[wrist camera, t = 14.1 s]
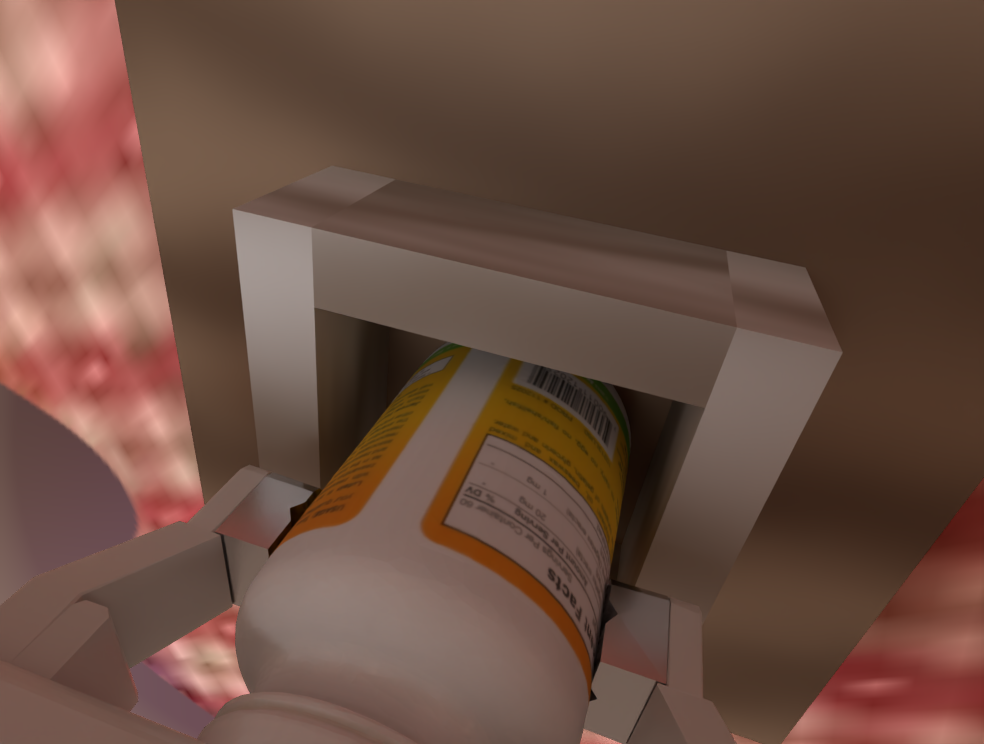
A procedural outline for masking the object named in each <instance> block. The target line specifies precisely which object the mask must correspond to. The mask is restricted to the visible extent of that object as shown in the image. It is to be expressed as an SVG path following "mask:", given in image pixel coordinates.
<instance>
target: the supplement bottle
mask: <svg viewBox="0 0 984 744" xmlns="http://www.w3.org/2000/svg"><path fill="white" fill-rule="evenodd" d="M630 448H631V432H630V425H629V420H628V416H627V413H626V410H625V407H624V405H623V403H622V400H621V398H620V396H619V395H618V393H617V391H616V390H615V388H614V386H613V385H612V384H609V383H605V382H602V381H598V380H594V379H590V378H586V377H582V376H578V375H575V374H571V373H567V372H563V371H559V370H555V369H551V368H547V367H544V366H540V365H536V364H532V363H528V362H524V361H520V360H517V359H513V358H509V357H505V356H501V355H497V354H493V353H489V352H486V351H482V350H478V349H474V348H470V347H466V346H462V345H459V344H455V343H451V342H447V343H445V344H444V345H442V346H441V347H439V348H438V349H437V350H436V351H434V352H433V353H432V354H431V355H430V356H429V357H428V358H427V359H426V360H425V361H424V363H423V364H422V365H421V366H420V367H419V368H418V370H417V371H416V372H415V373H414V374H413V376H412V377H411V378H410V379H409V381H408V382H407V383H406V385H405V386H404V387H403V388H402V390H401V391H400V392H399V394H398V395H397V396H396V397H395V399H394V400H393V401H392V403H391V404H390V406H389V407H388V408H387V409H386V411H385V412H384V413H383V414H382V415H381V417H380V418H379V419H378V421H377V422H376V423H375V424H374V426H373V427H372V428H371V430H370V431H369V432H368V433H367V435H366V436H365V437H364V438H363V440H362V441H361V442H360V444H359V445H358V446H357V447H356V449H355V450H354V451H353V452H352V454H351V455H350V456H349V457H348V458H347V460H346V461H345V462H344V463H343V465H342V466H341V467H340V469H339V470H338V471H337V472H336V473H335V474H334V476H333V477H332V479H331V480H330V481H329V483H328V484H327V485H326V486H325V488H324V489H323V490H322V491H321V493H320V494H319V495H318V496H317V498H316V499H315V500H314V501H313V502H312V504H311V505H310V506H309V507H308V508H307V510H306V511H305V513H304V514H303V515H302V516H301V518H300V519H299V520H298V521H297V523H296V524H295V525H294V526H293V528H292V529H291V530H290V531H289V533H288V534H287V535H286V536H285V538H284V539H283V540H282V541H281V543H280V544H279V545H278V547H277V548H276V549H275V550H274V552H273V553H272V554H271V556H270V557H269V558H268V560H267V561H266V563H265V564H264V566H263V567H262V568H261V570H260V571H259V573H258V574H257V575H256V577H255V578H254V580H253V581H252V583H251V584H250V586H249V588H248V589H247V592H246V594H245V596H244V598H243V600H242V603H241V606H240V609H239V613H238V617H237V621H236V633H235V646H236V654H237V659H238V664H239V668H240V671H241V674H242V677H243V679H244V682H245V684H246V686H247V688H248V690H249V692H250V694H246V695H241V696H239V697H236V698H234V699H232V700H230V701H229V702H227V703H226V704H225V705H224V706H223V707H222V708H221V709H220V710H219V711H218V713H217V715H216V717H215V719H214V720H213V721H211V722H210V723H209V724H208V725H207V726H205V727H204V729H203V730H202V732H201V733H200V734H199V736H198V738H197V739H198V740H200V741H203V742H205V743H208V744H580V741H581V737H582V733H583V728H584V722H585V718H586V714H587V710H588V707H589V700H590V694H591V686H592V679H593V674H594V666H595V659H596V653H597V646H598V641H599V635H600V629H601V622H602V615H603V608H604V602H605V596H606V590H607V585H608V581H609V575H610V569H611V563H612V558H613V552H614V546H615V540H616V534H617V529H618V523H619V517H620V511H621V505H622V500H623V495H624V489H625V483H626V477H627V471H628V465H629V456H630Z"/></svg>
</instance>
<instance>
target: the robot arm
mask: <svg viewBox="0 0 984 744" xmlns="http://www.w3.org/2000/svg"><path fill="white" fill-rule="evenodd" d="M321 491H322V489H320V488H317V487H314V486H311V485H308V484H306V483H303V482H300V481H297V480H294V479H291V478H288V477H285V476H282V475H279V474H277V473H274V472H270V471H267V470H264V469H261V468H258V467H255V466H252V465H248V466H246V467H244V468H241V469H240V470H239V471H238V472H237V473H236V474H235V475H234V476H233V477H232V478H231V479H230V480H229V481H228V482H227V483H226V484H225V485H224V486H223V487H222V488H221V489H220V490H219V491H218V492H217V493H216V494H215V495H214V496H213V497H212V498H211V499H210V500H209V501H208V502H207V503H206V504H205V505H204V506H203V507H202V508H201V509H200V510H199V511H198V512H197V513H196V514H195V515H194V516H193V517H192V518H191V519H190V520H189V521H188V522H187V523H184V522H181V521H179V522H176V523H173V524H171V525H168V526H166V527H163V528H160V529H158V530H155V531H153V532H150V533H147V534H145V535H142V536H139V537H137V538H134V539H132V540H129V541H126V542H124V543H121V544H119V545H116V546H113V547H111V548H108V549H106V550H103V551H100V552H98V553H95V554H93V555H90V556H87V557H85V558H82V559H80V560H77V561H74V562H72V563H69V564H66V565H64V566H61V567H59V568H56V569H53V570H51V571H48V572H46V573H43V574H40V575H38V576H35V577H33V578H32V579H31V580H30V581H28V582H27V583H26V584H25V585H24V586H23V587H21V588H20V589H19V590H18V591H17V592H16V593H15V594H13V595H12V596H11V597H10V598H9V599H8V600H6V601H5V602H4V603H3V604H2V605H1V606H0V744H208V743H205V742H203V741H200V740H198V739H195V738H193V737H191V736H188V735H186V734H183V733H181V732H178V731H176V730H173V729H171V728H168V727H166V726H163V725H161V724H158V723H156V722H153V721H151V720H148V719H146V718H144V717H141V716H139V715H136V714H134V713H131V712H130V711H131V710H132V708H133V707H134V706H135V705H136V703H137V702H138V692H137V689H136V686H135V683H134V680H133V678H132V675H131V672H130V668H132V667H133V666H135V665H136V664H138V663H140V662H141V661H143V660H145V659H146V658H148V657H150V656H151V655H153V654H155V653H156V652H158V651H160V650H161V649H163V648H165V647H166V646H168V645H170V644H171V643H173V642H175V641H176V640H178V639H180V638H181V637H183V636H185V635H186V634H188V633H190V632H191V631H193V630H195V629H196V628H198V627H200V626H201V625H203V624H205V623H206V622H208V621H209V620H211V619H213V618H214V617H216V616H218V615H219V614H221V613H223V612H224V611H226V610H228V609H229V608H231V607H232V604H235V605H238V606H241V603H242V600H243V598H244V596H245V594H246V592H247V589H248V588H249V586H250V584H251V583H252V581H253V580H254V578H255V577H256V575H257V574H258V573H259V571H260V570H261V568H262V567H263V566H264V564H265V563H266V561H267V560H268V558H269V557H270V556H271V554H272V553H273V552H274V550H275V549H276V548H277V547H278V545H279V544H280V543H281V541H282V540H283V539H284V538H285V536H286V535H287V534H288V533H289V531H290V530H291V529H292V528H293V526H294V525H295V524H296V523H297V521H298V520H299V519H300V518H301V516H302V515H303V514H304V513H305V511H306V510H307V508H308V507H309V506H310V505H311V504H312V502H313V501H314V500H315V499H316V498H317V496H318V495H319V494H320V493H321ZM584 729H586V730H589V731H591V732H594V733H597V734H599V735H602V736H604V737H607V738H609V739H612V740H615V741H617V742H620V743H622V744H737V743H736V742H735V740H734V738H733V736H732V735H731V733H730V731H729V729H728V728H727V726H726V724H725V723H724V721H723V719H722V717H721V716H720V714H719V712H718V710H717V709H716V707H715V705H714V704H713V702H712V701H709V700H707V699H704V698H703V665H702V612H701V610H700V607H699V606H697V605H693V604H690V603H687V602H684V601H681V600H677V599H674V598H671V597H667V596H666V595H663V594H659V593H656V592H653V591H649V590H646V589H643V588H639V587H636V586H633V585H629V584H626V583H623V582H619V581H616V580H613V579H610V581H609V583H608V585H607V590H606V596H605V602H604V608H603V615H602V622H601V629H600V635H599V641H598V646H597V653H596V659H595V666H594V674H593V679H592V686H591V694H590V700H589V707H588V710H587V714H586V718H585V722H584Z"/></svg>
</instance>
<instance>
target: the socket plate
mask: <svg viewBox="0 0 984 744" xmlns="http://www.w3.org/2000/svg"><path fill="white" fill-rule="evenodd" d="M115 5H116V10H117V16H118V22H119V27H120V33H121V38H122V44H123V50H124V55H125V61H126V66H127V72H128V78H129V83H130V89H131V94H132V100H133V106H134V111H135V117H136V122H137V128H138V134H139V139H140V145H141V151H142V156H143V162H144V167H145V173H146V179H147V184H148V190H149V195H150V201H151V207H152V212H153V218H154V223H155V229H156V235H157V240H158V246H159V251H160V257H161V263H162V268H163V274H164V279H165V285H166V291H167V296H168V302H169V307H170V313H171V319H172V324H173V330H174V335H175V341H176V347H177V352H178V358H179V363H180V369H181V375H182V380H183V386H184V391H185V397H186V403H187V408H188V414H189V420H190V425H191V431H192V436H193V442H194V448H195V453H196V459H197V464H198V470H199V476H200V481H201V487H202V492H203V498H204V504H206V503H207V502H208V501H209V500H210V499H211V498H212V497H213V496H214V495H215V494H216V493H217V492H218V491H219V490H220V489H221V488H222V487H223V486H224V485H225V484H226V483H227V482H228V481H229V480H230V479H231V478H232V477H233V476H234V475H235V474H236V473H237V472H238V471H239V470H240V469H241V468H244V467H246V466H248V465H252V466H255V467H258V468H261V469H264V470H267V471H270V472H274V473H277V474H279V475H282V476H285V477H288V478H291V479H294V480H297V481H300V482H303V483H306V484H308V485H311V486H314V487H317V488H320V489H322V490H323V489H324V488H325V486H326V485H327V484H328V483H329V481H330V480H331V479H332V477H333V476H334V474H335V473H336V472H337V471H338V470H339V469H340V467H341V466H342V465H343V463H344V462H345V461H346V460H347V458H348V457H349V456H350V455H351V454H352V452H353V451H354V450H355V449H356V447H357V446H358V445H359V444H360V442H361V441H362V440H363V438H364V437H365V436H366V435H367V433H368V432H369V431H370V430H371V428H372V427H373V426H374V424H375V423H376V422H377V421H378V419H379V418H380V417H381V415H382V414H383V413H384V412H385V411H386V409H387V408H388V407H389V406H390V404H391V403H392V401H393V400H394V399H395V397H396V396H397V395H398V394H399V392H400V391H401V390H402V388H403V387H404V386H405V385H406V383H407V382H408V381H409V379H410V378H411V377H412V376H413V374H414V373H415V372H416V371H417V370H418V368H419V367H420V366H421V365H422V364H423V363H424V361H425V360H426V359H427V358H428V357H429V356H430V355H431V354H432V353H433V352H434V351H436V350H437V349H438V348H439V347H441V346H442V345H444V344H445V343H447V342H451V343H455V344H459V345H462V346H466V347H470V348H474V349H478V350H482V351H486V352H489V353H493V354H497V355H501V356H505V357H509V358H513V359H517V360H520V361H524V362H528V363H532V364H536V365H540V366H544V367H547V368H551V369H555V370H559V371H563V372H567V373H571V374H575V375H578V376H582V377H586V378H590V379H594V380H598V381H602V382H605V383H609V384H612V385H613V386H614V388H615V390H616V391H617V393H618V395H619V396H620V398H621V400H622V403H623V405H624V407H625V410H626V413H627V416H628V420H629V425H630V432H631V448H630V456H629V465H628V471H627V477H626V483H625V489H624V495H623V500H622V505H621V511H620V517H619V523H618V529H617V534H616V540H615V546H614V552H613V558H612V563H611V569H610V575H609V581H610V579H613V580H616V581H619V582H623V583H626V584H629V585H633V586H636V587H639V588H643V589H646V590H649V591H653V592H656V593H659V594H663V595H666V596H667V597H671V598H674V599H677V600H681V601H684V602H687V603H690V604H693V605H697V606H699V607H700V610H701V612H702V665H703V698H704V699H707V700H709V701H712V702H713V704H714V705H715V707H716V709H717V710H718V712H719V714H720V716H721V717H722V719H723V721H724V723H725V724H726V726H727V728H728V729H729V731H730V733H733V734H736V735H739V736H742V737H745V738H748V739H751V740H753V741H756V742H759V743H762V744H781V743H782V742H783V741H784V739H785V738H786V737H787V735H788V734H789V733H790V731H791V730H792V729H793V727H794V726H795V725H796V723H797V722H798V721H799V719H800V718H801V717H802V716H803V714H804V713H805V712H806V710H807V709H808V708H809V706H810V705H811V704H812V702H813V701H814V700H815V698H816V697H817V696H818V695H819V693H820V692H821V691H822V689H823V688H824V687H825V685H826V684H827V683H828V681H829V680H830V679H831V677H832V676H833V675H834V674H835V672H836V671H837V670H838V668H839V667H840V666H841V664H842V663H843V662H844V660H845V659H846V658H847V656H848V655H849V654H850V652H851V651H852V650H853V649H854V647H855V646H856V645H857V643H858V642H859V641H860V639H861V638H862V637H863V635H864V634H865V633H866V631H867V630H868V629H869V628H870V626H871V625H872V624H873V622H874V621H875V620H876V618H877V617H878V616H879V614H880V613H881V612H882V610H883V609H884V608H885V607H886V605H887V604H888V603H889V601H890V600H891V599H892V597H893V596H894V595H895V593H896V592H897V591H898V589H899V588H900V587H901V585H902V584H903V583H904V582H905V580H906V579H907V578H908V576H909V575H910V574H911V572H912V571H913V570H914V568H915V567H916V566H917V564H918V563H919V562H920V561H921V559H922V558H923V557H924V555H925V554H926V553H927V551H928V550H929V549H930V547H931V546H932V545H933V543H934V542H935V541H936V540H937V538H938V537H939V536H940V534H941V533H942V532H943V530H944V529H945V528H946V526H947V525H948V524H949V522H950V521H951V520H952V519H953V517H954V516H955V515H956V513H957V512H958V511H959V509H960V508H961V507H962V505H963V504H964V503H965V501H966V500H967V499H968V497H969V496H970V495H971V494H972V492H973V491H974V490H975V488H976V487H977V486H978V484H979V483H980V482H981V480H982V479H983V478H984V0H115ZM609 581H608V583H609Z"/></svg>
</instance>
